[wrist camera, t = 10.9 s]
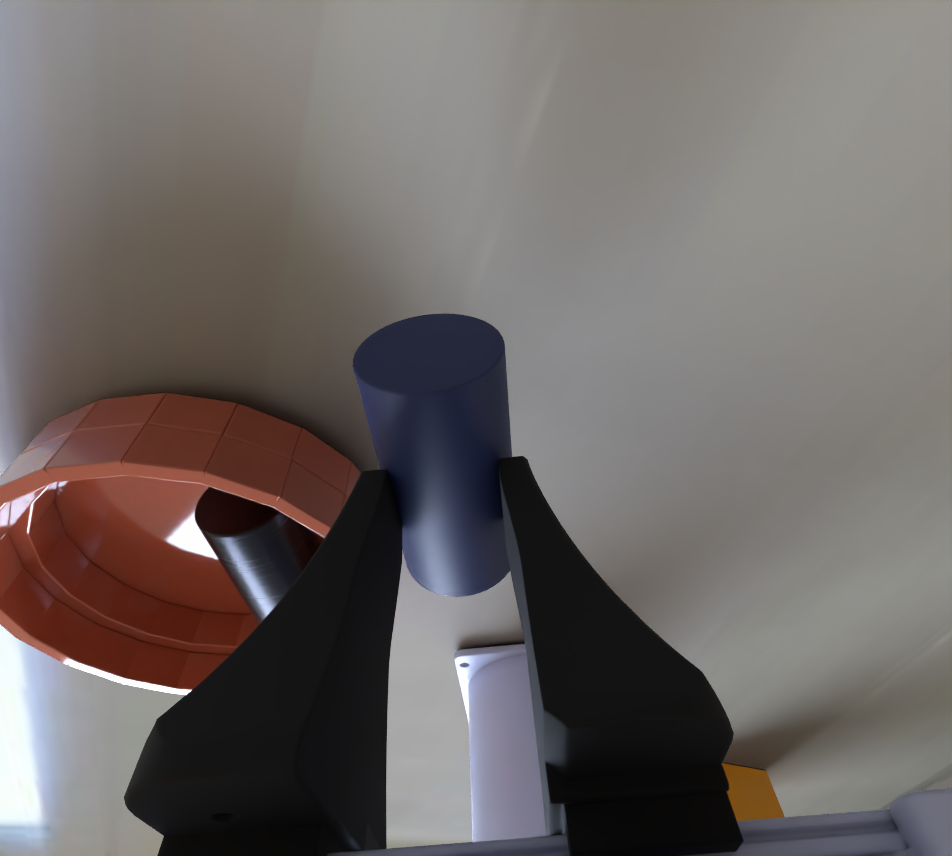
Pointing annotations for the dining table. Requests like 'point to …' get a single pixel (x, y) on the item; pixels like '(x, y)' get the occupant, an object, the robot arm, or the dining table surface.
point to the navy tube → (442, 443)
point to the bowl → (147, 531)
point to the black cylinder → (255, 546)
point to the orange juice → (751, 794)
